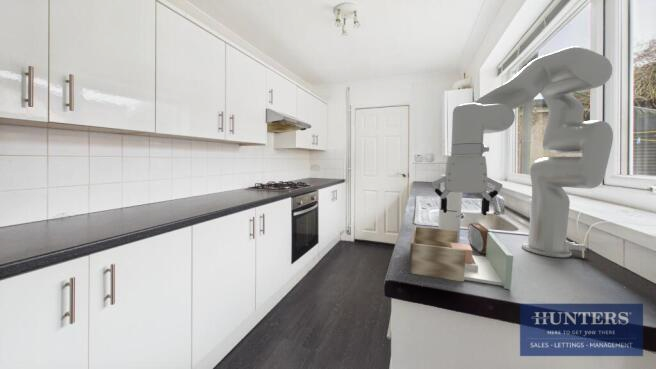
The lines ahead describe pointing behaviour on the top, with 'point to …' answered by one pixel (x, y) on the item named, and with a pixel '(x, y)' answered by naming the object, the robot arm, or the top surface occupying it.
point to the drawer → (491, 264)
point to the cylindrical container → (451, 211)
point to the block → (465, 247)
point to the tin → (478, 237)
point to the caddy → (436, 254)
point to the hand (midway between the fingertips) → (463, 213)
